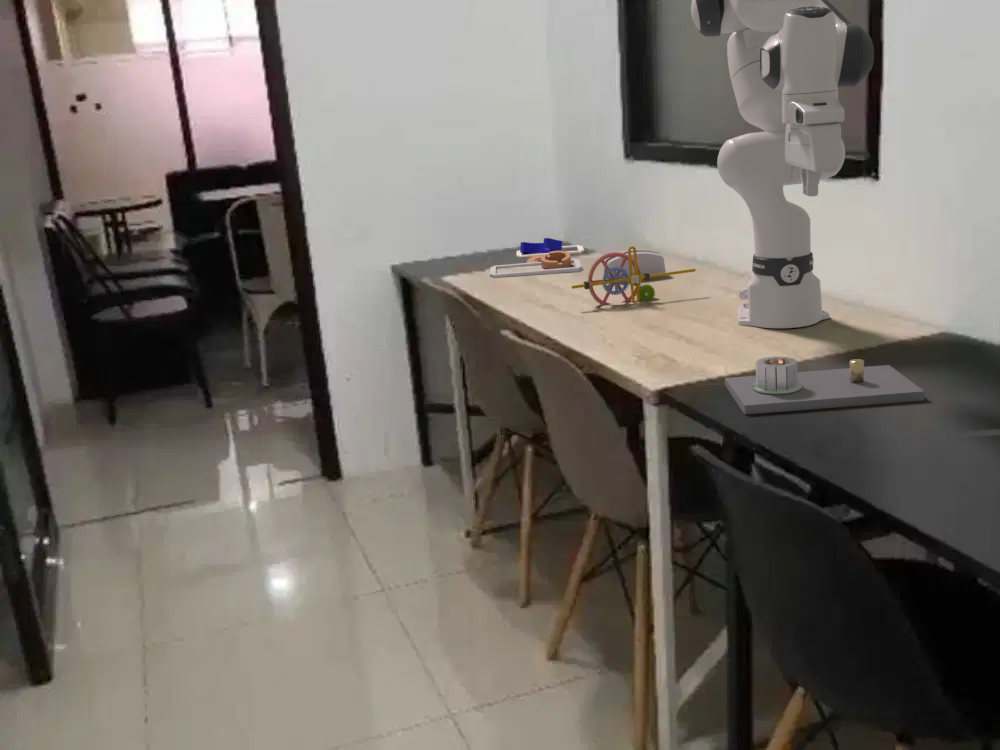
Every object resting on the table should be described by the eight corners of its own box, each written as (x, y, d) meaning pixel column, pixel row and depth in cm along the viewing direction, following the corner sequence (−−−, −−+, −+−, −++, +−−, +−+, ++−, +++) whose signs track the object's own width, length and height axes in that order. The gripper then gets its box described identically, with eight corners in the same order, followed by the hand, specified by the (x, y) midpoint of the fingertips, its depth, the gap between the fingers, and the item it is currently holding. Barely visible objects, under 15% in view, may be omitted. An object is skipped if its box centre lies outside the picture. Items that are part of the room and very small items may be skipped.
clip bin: (517, 263, 325) (516, 250, 323) (582, 257, 324) (581, 244, 323) (517, 269, 313) (516, 256, 312) (585, 264, 312) (584, 250, 311)
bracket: (578, 279, 294) (575, 256, 290) (551, 287, 291) (549, 264, 288) (548, 260, 309) (545, 238, 305) (522, 268, 306) (520, 246, 303)
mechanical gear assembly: (575, 318, 242) (570, 254, 238) (570, 315, 246) (565, 252, 242) (697, 302, 247) (695, 239, 243) (691, 299, 251) (688, 237, 247)
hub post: (747, 383, 176) (746, 360, 175) (795, 379, 176) (794, 356, 175) (758, 396, 169) (757, 373, 168) (808, 392, 168) (807, 369, 167)
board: (724, 386, 181) (724, 378, 180) (888, 373, 180) (888, 365, 179) (744, 414, 165) (744, 405, 165) (924, 400, 164) (924, 391, 164)
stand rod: (847, 380, 173) (847, 359, 172) (861, 379, 173) (861, 358, 172) (852, 383, 171) (852, 363, 170) (865, 382, 171) (865, 362, 170)
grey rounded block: (662, 281, 276) (661, 245, 272) (667, 286, 271) (667, 249, 268) (600, 289, 273) (599, 252, 270) (605, 294, 269) (604, 256, 265)
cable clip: (534, 260, 322) (519, 257, 318) (535, 245, 322) (520, 242, 318) (561, 256, 312) (546, 252, 308) (562, 241, 313) (547, 237, 309)
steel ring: (753, 381, 175) (752, 358, 174) (791, 378, 175) (791, 355, 174) (761, 392, 169) (761, 368, 168) (801, 389, 169) (801, 365, 168)
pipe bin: (491, 279, 300) (490, 265, 299) (579, 272, 299) (578, 258, 298) (490, 289, 286) (489, 275, 284) (583, 282, 285) (582, 267, 284)
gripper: (775, 110, 182) (776, 190, 186) (807, 114, 162) (807, 203, 166) (811, 107, 182) (812, 187, 186) (848, 110, 162) (847, 200, 166)
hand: (810, 195), depth 176 cm, fingers closed
